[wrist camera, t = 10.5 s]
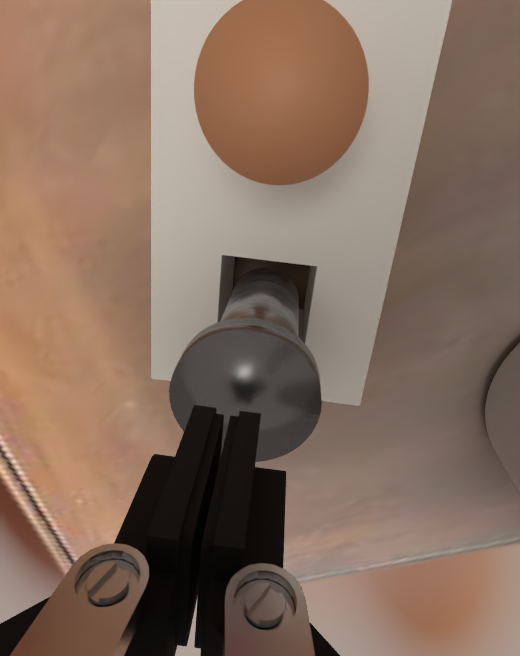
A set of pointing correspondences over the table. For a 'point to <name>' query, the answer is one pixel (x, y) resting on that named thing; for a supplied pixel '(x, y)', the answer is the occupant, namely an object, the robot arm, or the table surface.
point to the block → (287, 193)
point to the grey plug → (253, 366)
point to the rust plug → (281, 89)
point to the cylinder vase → (506, 415)
